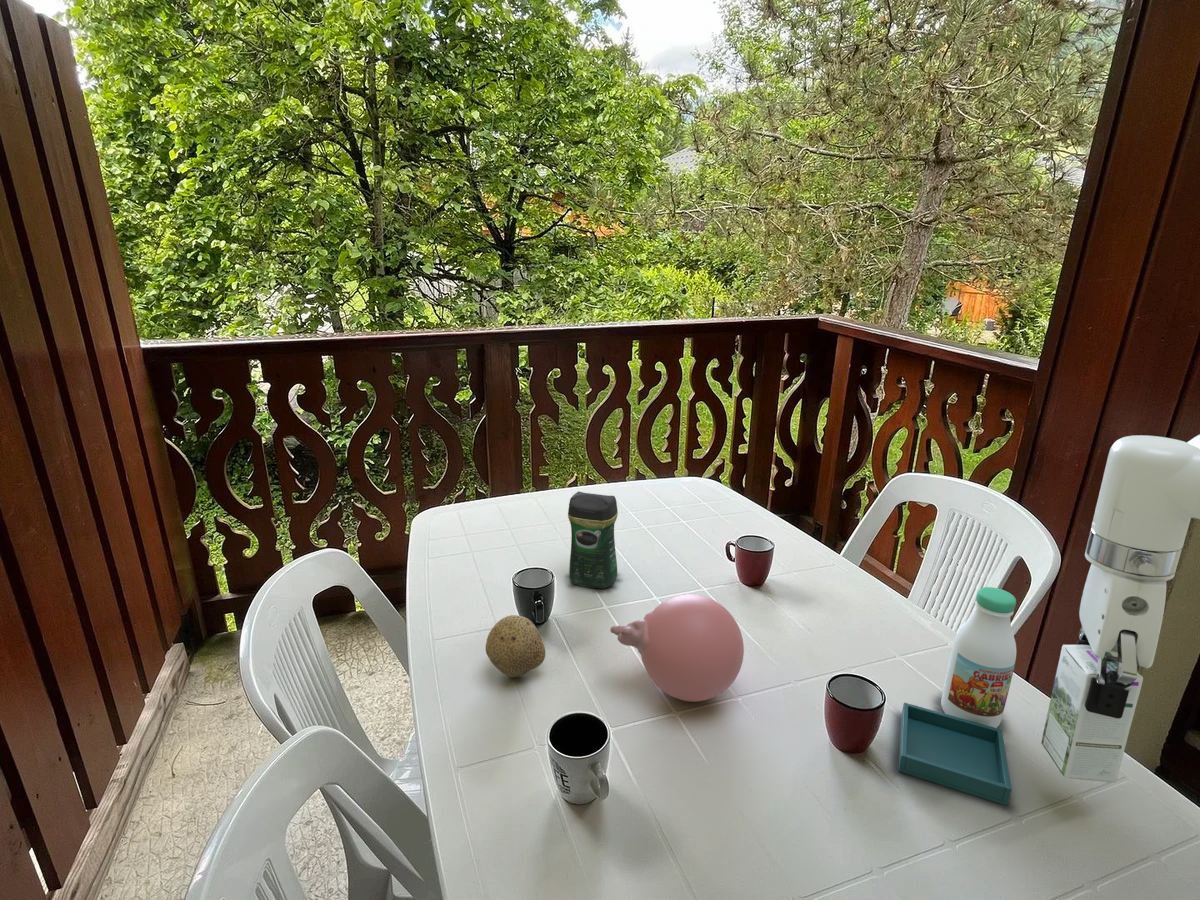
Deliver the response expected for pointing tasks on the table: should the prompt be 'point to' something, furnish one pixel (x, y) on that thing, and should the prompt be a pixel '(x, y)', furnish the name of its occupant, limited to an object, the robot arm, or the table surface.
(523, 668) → the natural sponge
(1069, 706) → the syrup box
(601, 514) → the coffee jar
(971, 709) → the milk bottle
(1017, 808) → the table surface
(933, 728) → the tray
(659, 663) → the balloon
